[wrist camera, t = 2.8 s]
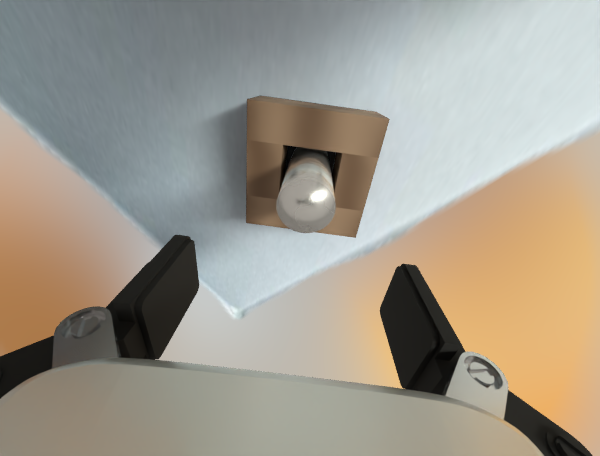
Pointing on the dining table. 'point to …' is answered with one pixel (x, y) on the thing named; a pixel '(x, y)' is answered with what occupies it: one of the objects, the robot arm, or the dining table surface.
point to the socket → (315, 135)
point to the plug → (307, 192)
